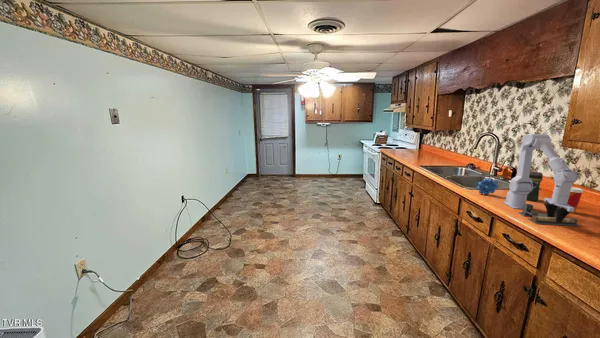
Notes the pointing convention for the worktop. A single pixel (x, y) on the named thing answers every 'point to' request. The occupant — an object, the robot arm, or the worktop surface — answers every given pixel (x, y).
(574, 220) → the tan wooden rod
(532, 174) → the coffee jar
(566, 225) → the mat
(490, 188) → the grapes
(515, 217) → the worktop surface
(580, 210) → the worktop surface
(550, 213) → the robot arm
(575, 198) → the paper cup
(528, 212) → the hook standards
